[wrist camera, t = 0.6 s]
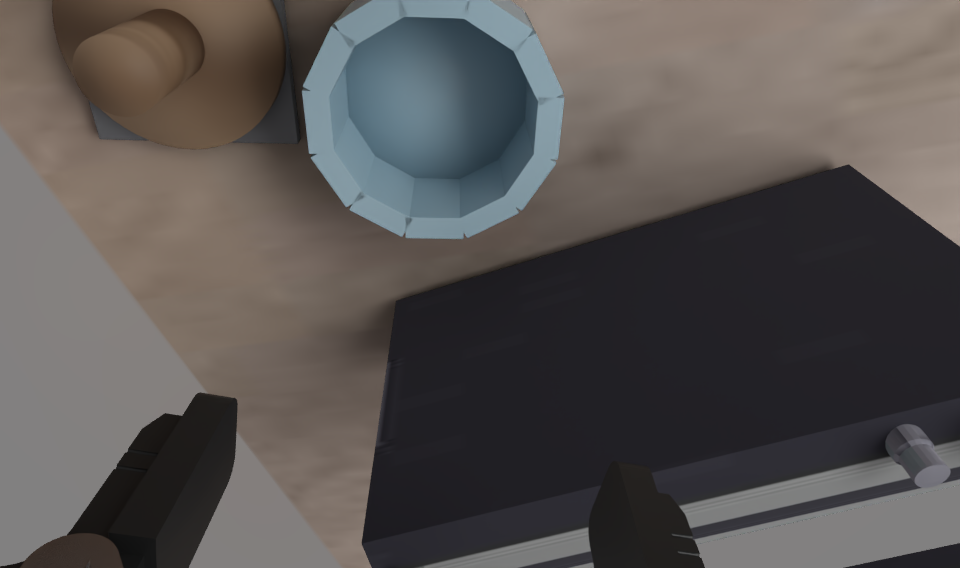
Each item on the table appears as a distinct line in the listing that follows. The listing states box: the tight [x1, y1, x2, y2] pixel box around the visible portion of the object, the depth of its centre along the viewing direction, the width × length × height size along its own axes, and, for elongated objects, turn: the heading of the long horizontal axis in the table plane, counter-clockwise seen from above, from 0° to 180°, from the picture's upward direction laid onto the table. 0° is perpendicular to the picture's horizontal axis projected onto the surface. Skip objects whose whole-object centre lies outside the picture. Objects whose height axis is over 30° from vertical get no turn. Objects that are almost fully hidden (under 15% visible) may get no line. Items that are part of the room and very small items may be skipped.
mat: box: [89, 0, 300, 144], centre depth 28 cm, size 9×9×1 cm
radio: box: [362, 164, 960, 568], centre depth 27 cm, size 24×5×20 cm, turn 109°
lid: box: [52, 0, 286, 149], centre depth 25 cm, size 9×9×6 cm
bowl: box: [302, 0, 564, 239], centre depth 27 cm, size 10×10×5 cm
